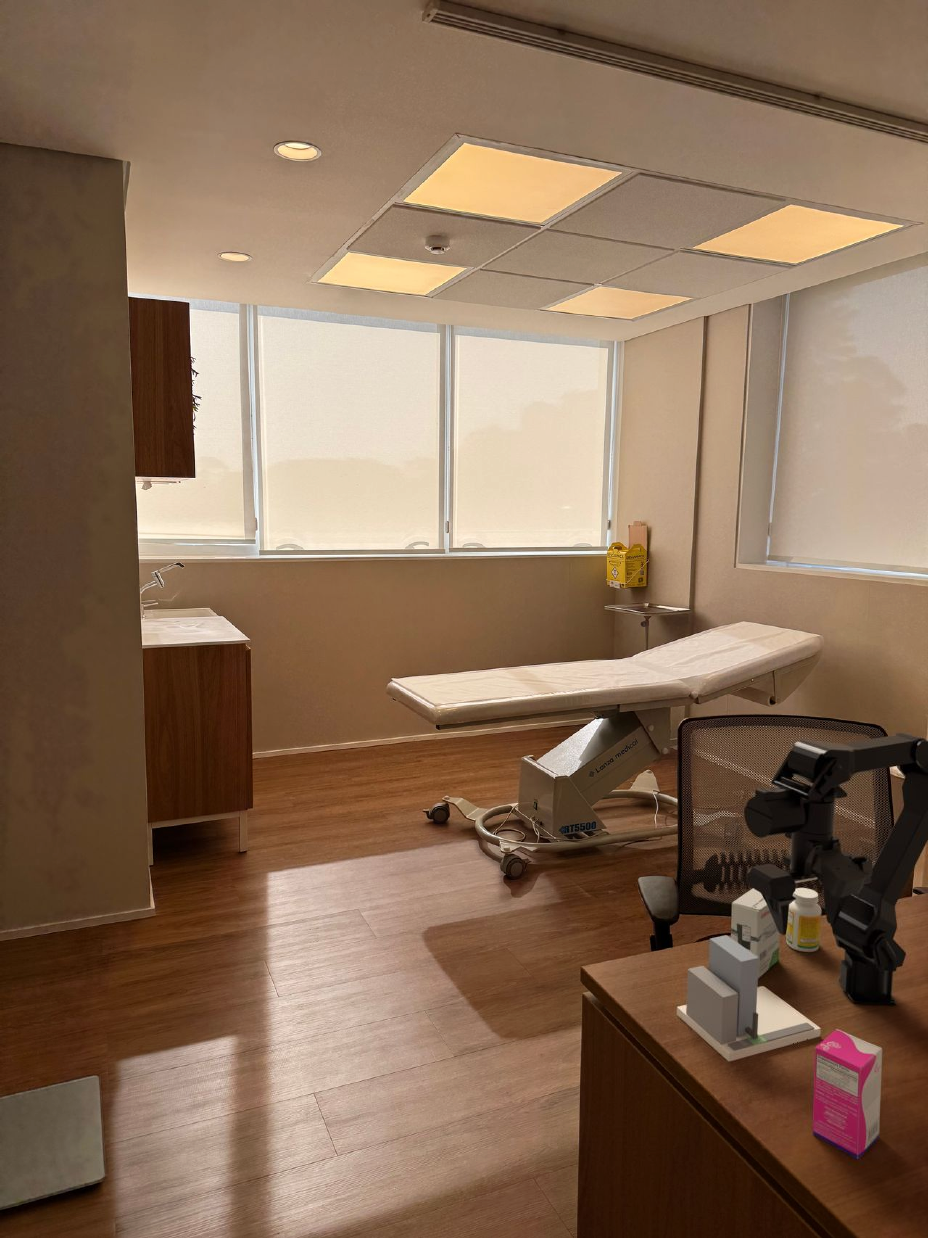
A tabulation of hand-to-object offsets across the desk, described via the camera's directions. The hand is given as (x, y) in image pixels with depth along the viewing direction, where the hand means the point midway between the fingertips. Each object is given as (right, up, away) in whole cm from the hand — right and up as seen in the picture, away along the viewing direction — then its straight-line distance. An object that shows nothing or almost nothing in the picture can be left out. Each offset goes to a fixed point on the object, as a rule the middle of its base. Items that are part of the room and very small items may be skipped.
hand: (806, 928), depth 128 cm
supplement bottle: (+8, -11, +21) cm, 25 cm away
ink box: (-3, -12, +15) cm, 19 cm away
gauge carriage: (-12, -12, -4) cm, 18 cm away
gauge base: (-10, -13, -2) cm, 17 cm away
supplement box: (-5, -16, -25) cm, 30 cm away
